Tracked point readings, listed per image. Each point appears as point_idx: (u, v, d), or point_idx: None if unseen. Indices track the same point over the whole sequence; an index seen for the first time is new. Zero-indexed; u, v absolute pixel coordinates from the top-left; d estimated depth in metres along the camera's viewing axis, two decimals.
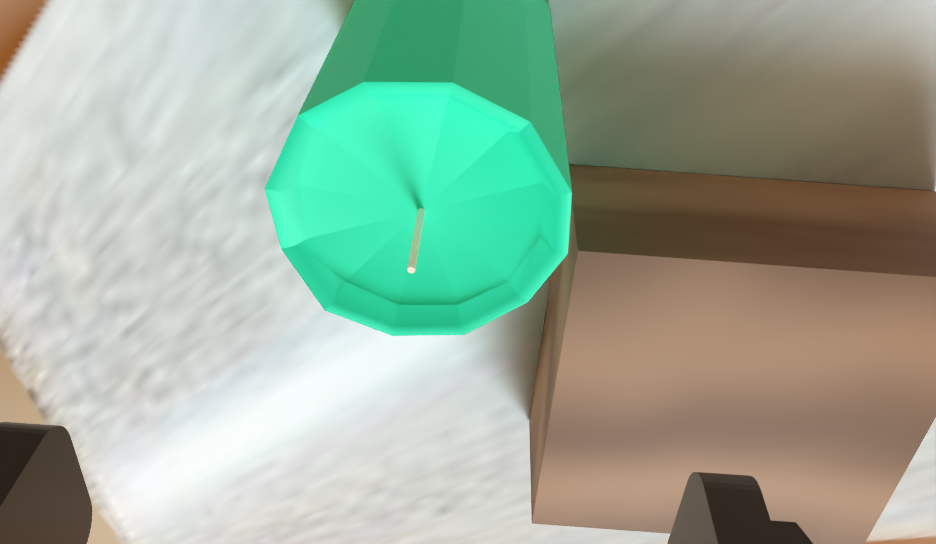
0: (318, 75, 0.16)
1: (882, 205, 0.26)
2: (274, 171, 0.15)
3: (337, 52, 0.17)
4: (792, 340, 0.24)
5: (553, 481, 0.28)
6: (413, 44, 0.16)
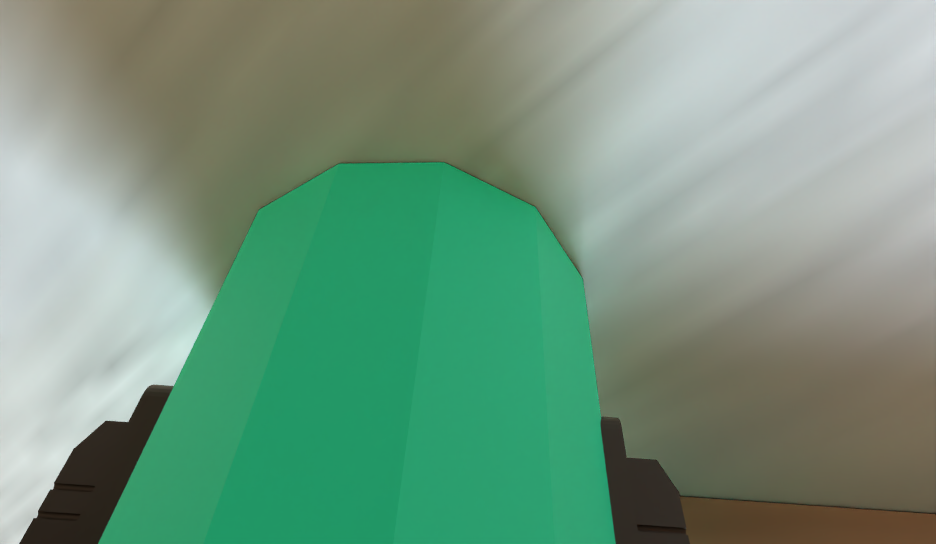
0: None
1: None
2: None
3: None
4: None
5: None
6: None
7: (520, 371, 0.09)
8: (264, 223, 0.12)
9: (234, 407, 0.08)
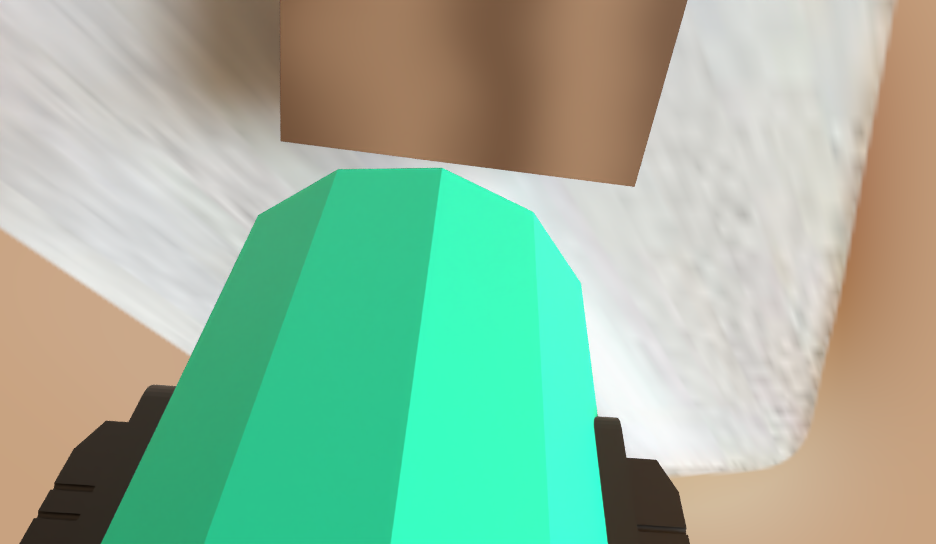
0: None
1: None
2: None
3: None
4: None
5: (568, 165, 0.27)
6: None
7: (517, 376, 0.09)
8: (264, 229, 0.12)
9: (232, 414, 0.08)
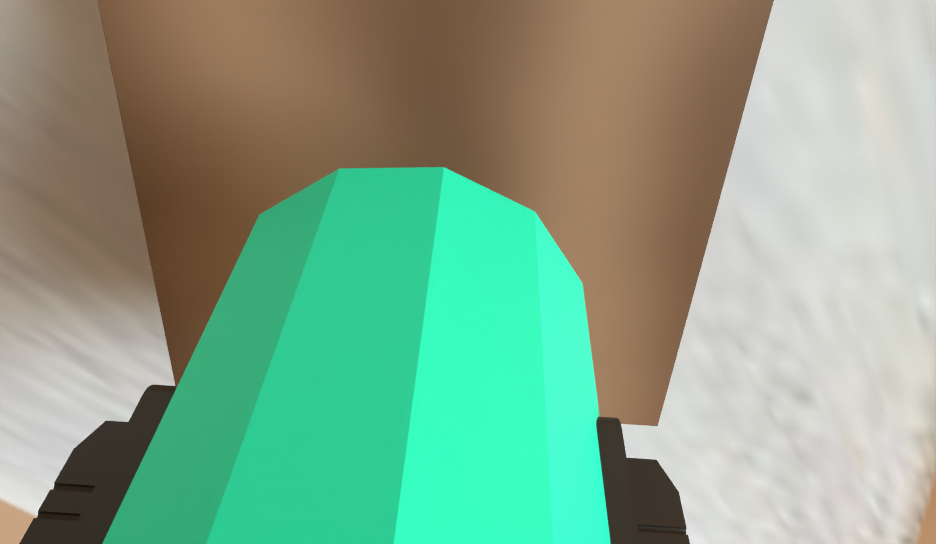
0: None
1: None
2: None
3: None
4: (256, 160, 0.16)
5: None
6: None
7: (520, 377, 0.09)
8: (265, 227, 0.12)
9: (235, 412, 0.08)
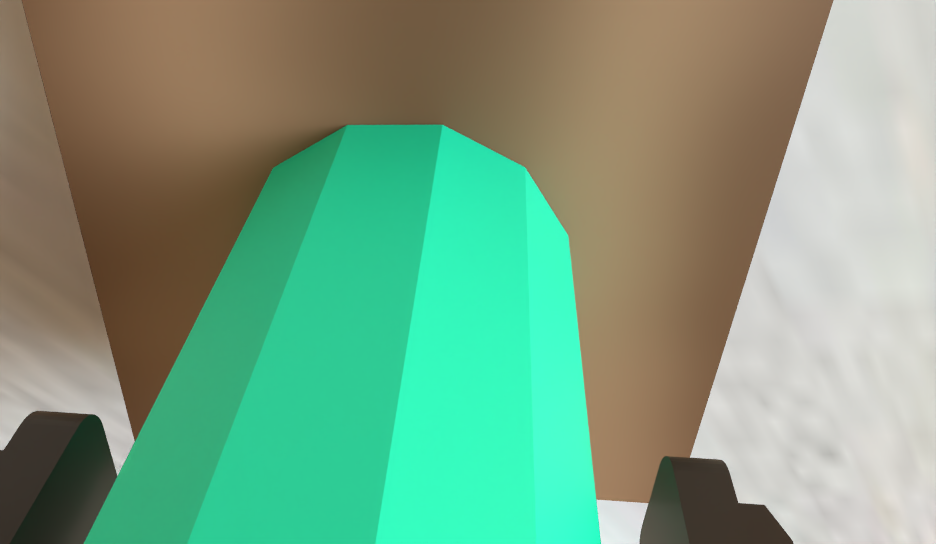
0: None
1: None
2: None
3: (111, 526, 0.08)
4: (222, 222, 0.14)
5: None
6: None
7: (508, 299, 0.10)
8: (279, 178, 0.13)
9: (257, 320, 0.09)
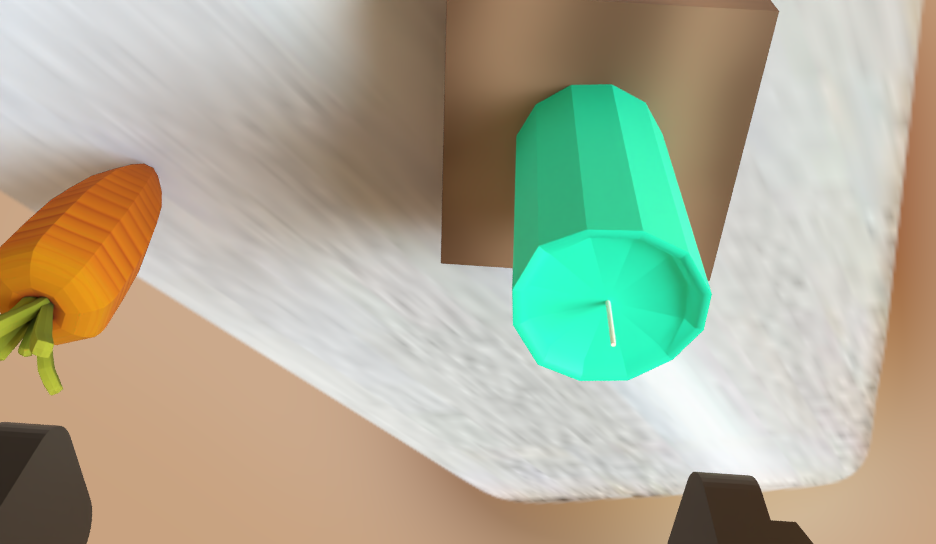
0: (539, 212, 0.25)
1: None
2: (519, 279, 0.24)
3: (546, 194, 0.26)
4: (508, 130, 0.33)
5: None
6: (607, 198, 0.24)
7: (651, 143, 0.28)
8: (543, 107, 0.31)
9: (570, 145, 0.28)
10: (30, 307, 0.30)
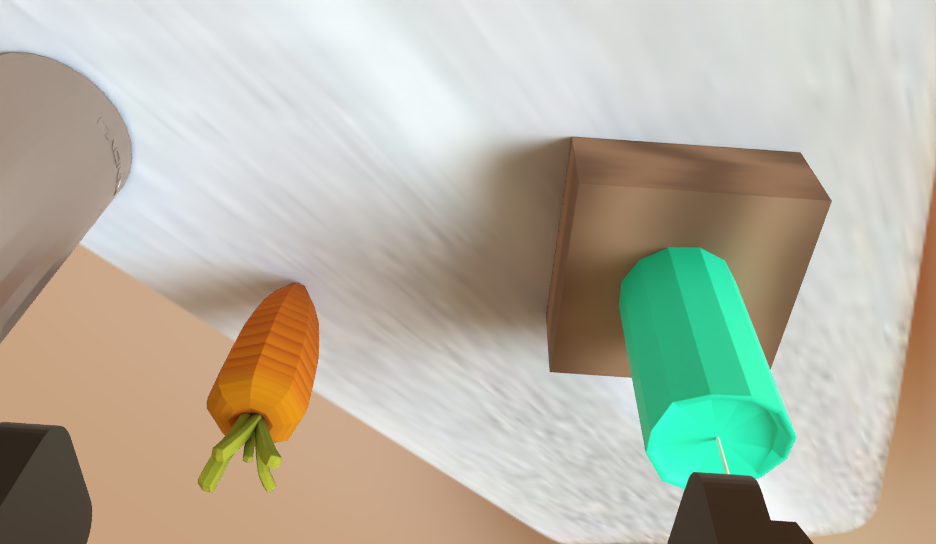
0: (666, 371, 0.34)
1: (568, 184, 0.43)
2: (656, 424, 0.33)
3: (669, 355, 0.35)
4: (615, 277, 0.42)
5: None
6: (719, 364, 0.33)
7: (737, 304, 0.38)
8: (647, 265, 0.40)
9: (680, 310, 0.37)
10: (252, 424, 0.39)
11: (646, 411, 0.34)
